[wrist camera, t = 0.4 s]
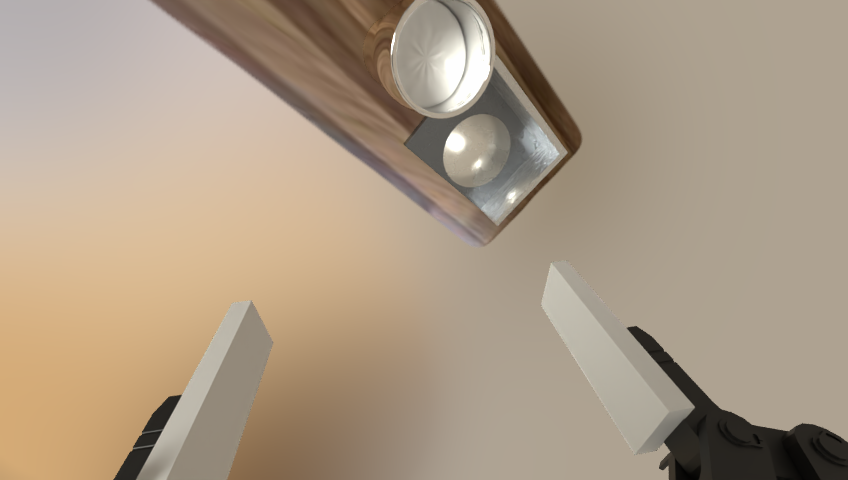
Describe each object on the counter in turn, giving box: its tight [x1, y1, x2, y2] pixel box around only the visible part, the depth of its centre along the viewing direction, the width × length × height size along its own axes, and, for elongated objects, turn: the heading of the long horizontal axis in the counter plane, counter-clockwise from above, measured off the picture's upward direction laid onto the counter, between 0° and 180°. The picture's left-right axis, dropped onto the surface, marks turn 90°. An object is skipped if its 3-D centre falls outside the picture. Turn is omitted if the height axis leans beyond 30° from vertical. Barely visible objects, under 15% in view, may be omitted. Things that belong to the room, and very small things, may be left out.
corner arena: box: [404, 54, 568, 226], centre depth 35 cm, size 15×12×5 cm
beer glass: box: [363, 0, 495, 119], centre depth 24 cm, size 7×7×15 cm
